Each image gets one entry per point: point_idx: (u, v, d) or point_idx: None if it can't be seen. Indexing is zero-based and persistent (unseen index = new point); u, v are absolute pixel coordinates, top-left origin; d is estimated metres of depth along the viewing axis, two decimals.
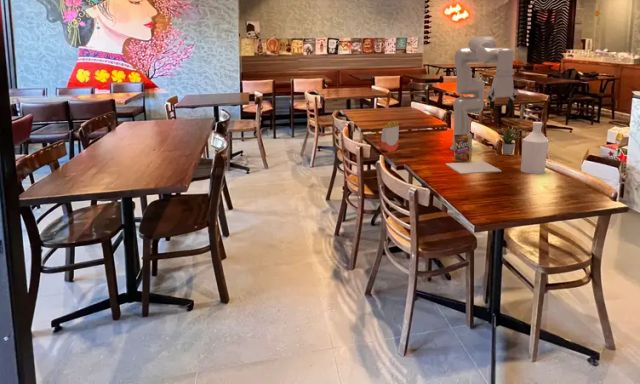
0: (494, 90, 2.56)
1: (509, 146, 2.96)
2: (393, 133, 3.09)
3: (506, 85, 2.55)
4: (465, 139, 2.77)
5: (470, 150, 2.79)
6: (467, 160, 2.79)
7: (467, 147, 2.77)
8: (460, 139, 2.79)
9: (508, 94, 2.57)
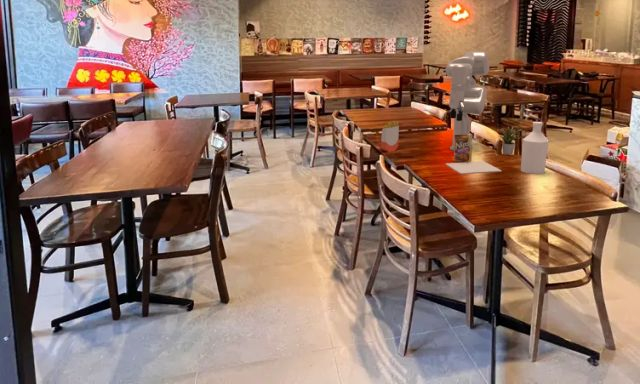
0: (463, 102, 2.80)
1: (509, 146, 2.96)
2: (393, 133, 3.09)
3: None
4: (465, 139, 2.77)
5: (470, 150, 2.78)
6: (467, 160, 2.79)
7: (467, 147, 2.77)
8: (460, 139, 2.78)
9: None
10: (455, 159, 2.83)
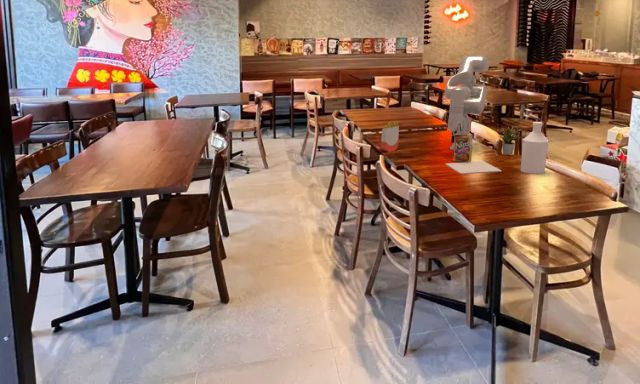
0: (461, 125, 2.83)
1: (509, 146, 2.96)
2: (393, 133, 3.09)
3: None
4: (465, 139, 2.77)
5: (470, 150, 2.78)
6: (467, 160, 2.79)
7: (467, 147, 2.77)
8: (460, 139, 2.78)
9: None
10: (455, 159, 2.83)
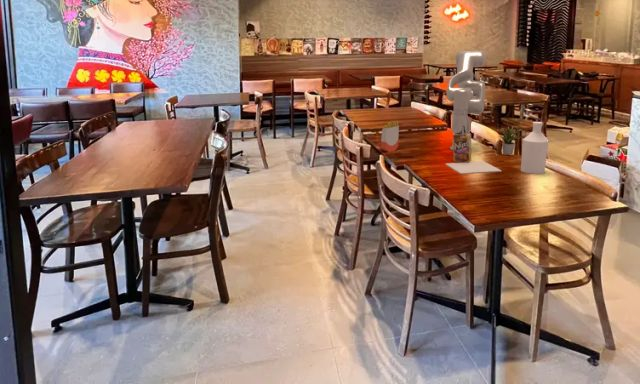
0: (465, 127, 2.78)
1: (509, 146, 2.96)
2: (393, 133, 3.09)
3: None
4: (464, 139, 2.76)
5: (470, 150, 2.78)
6: (467, 160, 2.79)
7: (466, 147, 2.77)
8: (459, 140, 2.78)
9: None
10: (455, 159, 2.83)
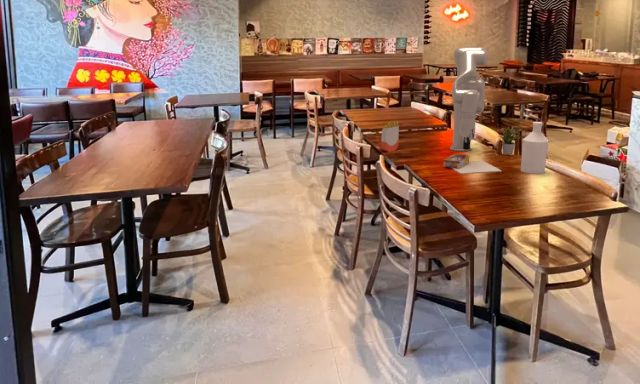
0: (474, 131, 2.69)
1: (509, 146, 2.96)
2: (393, 133, 3.09)
3: None
4: None
5: (465, 162, 2.73)
6: None
7: None
8: None
9: None
10: None
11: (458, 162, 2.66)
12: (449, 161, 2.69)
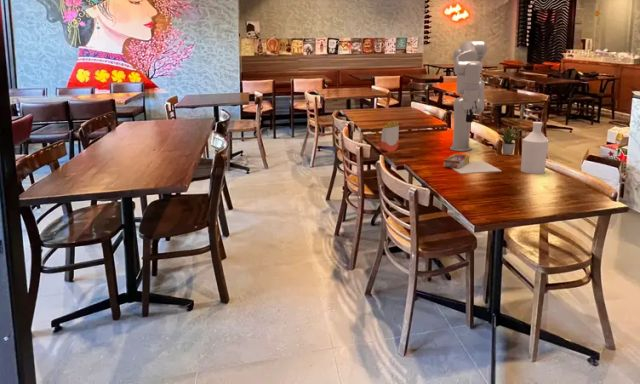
0: (477, 103, 2.64)
1: (509, 146, 2.96)
2: (393, 133, 3.09)
3: None
4: None
5: (465, 162, 2.73)
6: None
7: None
8: None
9: None
10: None
11: (458, 162, 2.66)
12: (449, 161, 2.69)
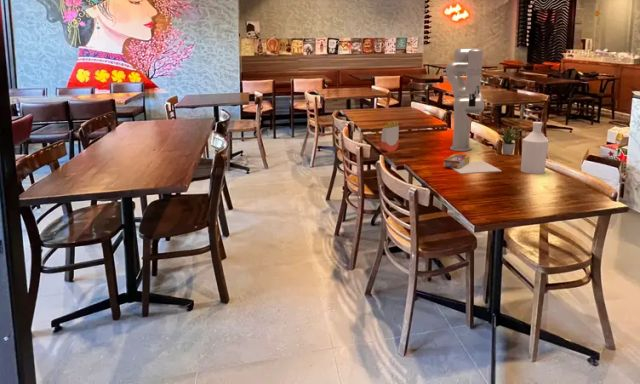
0: (479, 87, 2.77)
1: (509, 146, 2.96)
2: (393, 133, 3.09)
3: None
4: None
5: (465, 162, 2.73)
6: None
7: None
8: None
9: None
10: None
11: (458, 162, 2.66)
12: (449, 161, 2.69)
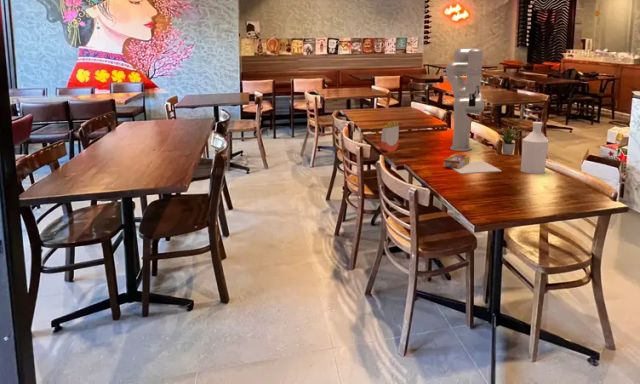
0: (479, 87, 2.77)
1: (509, 146, 2.96)
2: (393, 133, 3.09)
3: None
4: None
5: (465, 162, 2.73)
6: None
7: None
8: None
9: None
10: None
11: (458, 162, 2.66)
12: (449, 161, 2.69)
